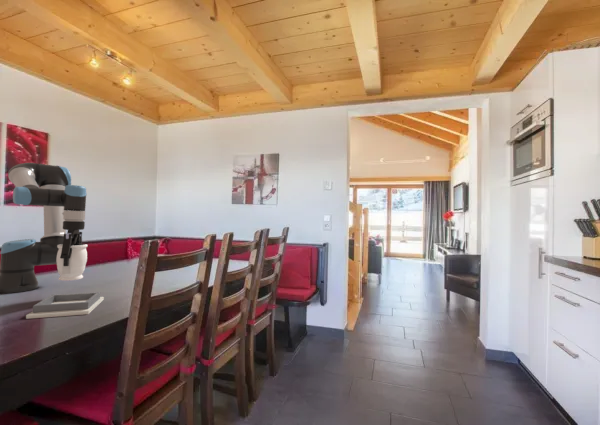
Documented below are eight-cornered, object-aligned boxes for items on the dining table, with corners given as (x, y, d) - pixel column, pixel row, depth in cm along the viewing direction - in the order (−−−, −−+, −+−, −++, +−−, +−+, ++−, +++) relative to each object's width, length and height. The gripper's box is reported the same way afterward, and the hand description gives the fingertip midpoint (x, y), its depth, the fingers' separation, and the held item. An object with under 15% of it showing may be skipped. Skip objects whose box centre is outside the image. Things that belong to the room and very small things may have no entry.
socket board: (51, 302, 118) (52, 293, 118) (103, 299, 125) (104, 290, 125) (26, 318, 100) (26, 307, 100) (88, 314, 106) (88, 303, 106)
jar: (49, 281, 121) (51, 245, 121) (63, 276, 131) (65, 243, 131) (79, 281, 123) (80, 246, 123) (90, 276, 133) (92, 243, 133)
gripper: (73, 219, 136) (71, 266, 136) (51, 221, 115) (48, 276, 115) (92, 220, 139) (90, 266, 139) (74, 221, 118) (71, 276, 118)
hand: (71, 271), depth 127 cm, fingers closed on jar, 10 cm apart
